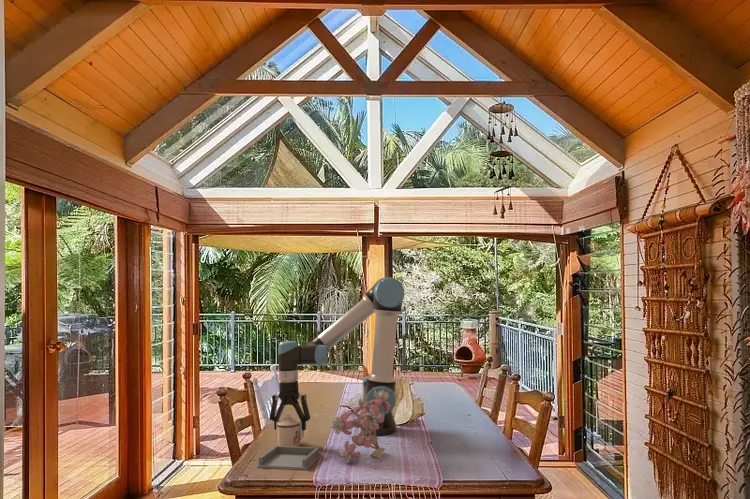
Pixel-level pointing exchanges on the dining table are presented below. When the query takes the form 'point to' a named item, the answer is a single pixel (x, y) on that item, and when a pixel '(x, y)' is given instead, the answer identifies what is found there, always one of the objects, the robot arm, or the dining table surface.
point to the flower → (363, 426)
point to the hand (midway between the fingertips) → (290, 438)
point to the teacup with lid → (288, 432)
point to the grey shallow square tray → (289, 457)
